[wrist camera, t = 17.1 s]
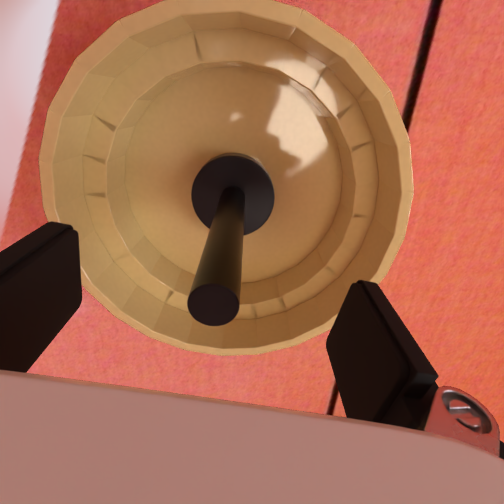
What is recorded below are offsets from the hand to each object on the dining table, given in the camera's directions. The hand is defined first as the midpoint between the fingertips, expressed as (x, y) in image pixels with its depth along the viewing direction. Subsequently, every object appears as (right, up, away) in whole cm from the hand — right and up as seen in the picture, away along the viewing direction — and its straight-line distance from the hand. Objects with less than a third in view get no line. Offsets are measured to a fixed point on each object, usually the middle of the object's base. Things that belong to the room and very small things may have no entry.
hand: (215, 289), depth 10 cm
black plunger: (0, +6, +12) cm, 14 cm away
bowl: (0, +6, +13) cm, 14 cm away
